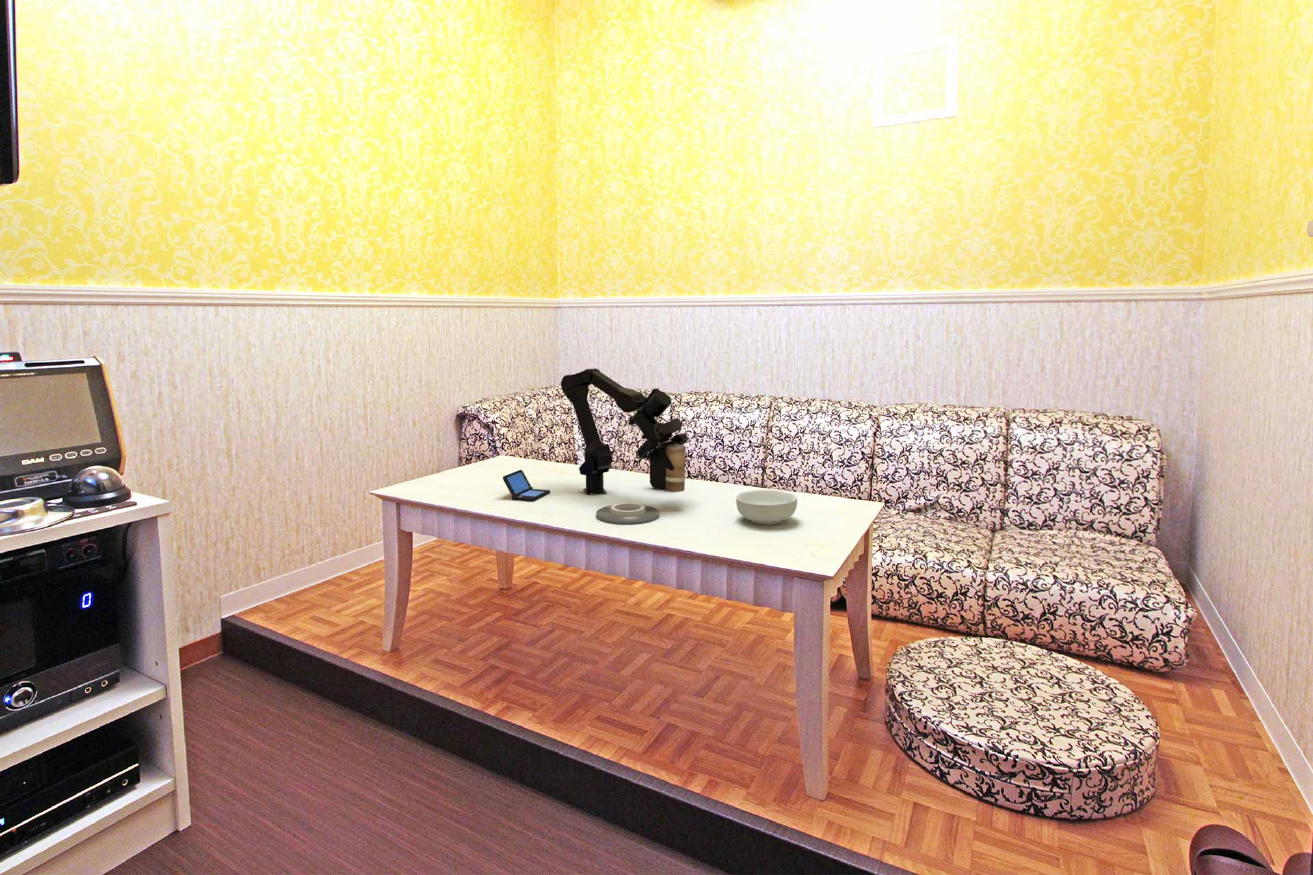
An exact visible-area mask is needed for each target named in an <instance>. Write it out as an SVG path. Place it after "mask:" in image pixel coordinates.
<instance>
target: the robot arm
mask: <svg viewBox="0 0 1313 875" xmlns="http://www.w3.org/2000/svg"><path fill="white" fill-rule="evenodd" d="M591 385H593V386H594V387H596V388H597V389H598V390H600V391H601V392H603V393H604V394H606V395H607V396H608V397H610V398H612V400H614V403H615V405H616V406H617V407H618V408H619V409H620V410H621V411H622V412H623V413H625V414H627V413H634V414H632V415H630V416H629V420H628V426H633V425H636V426H637V428H638V429H639V430H640V432H641V433H642V435H641V439H642V440H644V441H643V443H642V444H641V445H640V446H639V447H638V449H637V450H636V454H637V456H638V458H639V459H640V460H644V459H647V460H649V461H650V460H652V461H654V462H656V463H658V464H660V465H662V466H664V467H665V468H667V469H669V470H671V471H673V470H674V467H673V465H672V463H671V461H670V460H669V458H668V456H667V455H666V453H665V448H666V446H667V445H673V444H677V445H684V446H685V443H687V442H688V440H690V438H689V437H688V435H687V434H686V433H683V432H682V433H680V431H682V430H683V429H682V427H683V424H684V423H683V421H681V419H680V418H679V417H675V418H673V419H671V420H670V421H667V422H666V423H664V422H659V421H658V420H657V419H656V418H660V417H661V416H662V415H663V413H664V412H665V411H666V410H667V409H668V408H669V407H670V406H671V405H672V399H671V397H670V396H669V394H667V393H666V392H664V391H661V390H660V389H659V387H657V388H653V389H652V390H651V392H650V393H649V394H648V396H645V395H644V394H643V393H642V392H639V391H637V390H635V389H633V388H632V389H631V388H627V387H624V386H622V385H620V383H618V382H617V381H615V380H613V379H612V378H610V377H608V375H606V374H604V373H602V372H601V371H600V369H598V368H595V367H594V368H586V369H584V370H582V371H580V372H579V371H578V372H577V373H572V374H566V375H564V376H563V377H562V379H561V381H560V387H561V389H562V390H561V391H562V392H563V395H564V396H565V397H566V398H567V399H568V400H569V401H570V403H571V404H572V406H573V409H574V413H575V415H576V418H577V422H578V425H579V428H580V432H581V435H582V437H583V440H584V443H585V448H584V454H583V456H584V462H582V464H581V465H580V466H579V467H578V470H579V474H580V475H583V476H585V487H584V488H583V492H584V493H585V494H586V495H599V494H600V495H601V494H607V490H605V488H604V484H605V483H604V481H605V480H604V474H605V473H609V472H610V467H611V465H612V463H613V453H612V451H611V447H610V445H609V443H603V441H602V440H601V437H600V434H599V432H598V428H597V425H596V422H595V418H594V415H593V413H592V410H591V406H590V404H589V399H588V397H589V391H590V388H589V386H591ZM677 432H679V433H677ZM673 433H674V434H675V433H677V434H675V435H673ZM648 452H649V455H650V456H649V457H648V458H647V456H648ZM686 466H687V463H686V461H685V468H686Z"/></svg>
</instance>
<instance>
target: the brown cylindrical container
mask: <svg viewBox="0 0 1313 875" xmlns="http://www.w3.org/2000/svg"><path fill="white" fill-rule="evenodd" d="M666 455H667V456H668V458H669V460H670V461H671V463H672V465H673V467H674V470H673V471H671V470H669V469H667V468H666V490H665V491H668V492H673V493H679V492H685V486H686V484H685V483H686V482H685V481H686V475H685V474H686V467H685V462H686V446H685V444H684V445H677V444H673V445H667V446H666Z"/></svg>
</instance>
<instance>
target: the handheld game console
mask: <svg viewBox="0 0 1313 875" xmlns="http://www.w3.org/2000/svg"><path fill="white" fill-rule="evenodd" d="M502 480H503V483H504V484H505V486H506V487H507V489H508V491H509V493H510V495H511V501H518V500H521V501H520V502H529V503H531V502H532V503H533V502H536V501H537V500H539V498H540V499H541V498H544V497H545V496H547V494H548V495H549V494H550V493H551V490H550V489H540V488H539V489H538V488H537V489H536V488H534V487H533V486H532V485H531V483H530V481H529V479H528V477H527V476H526V474H525V473H524V471H523V469H519V470H516V471H513V472H511V473H509V474H506V475H502Z"/></svg>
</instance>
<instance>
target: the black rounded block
mask: <svg viewBox="0 0 1313 875" xmlns="http://www.w3.org/2000/svg"><path fill="white" fill-rule="evenodd" d="M665 453H666V448H665ZM647 454H648V455H647V458H646V459H648V457H649V456H650V455H649V452H647ZM649 484H650V486H651V487H652V488H653V489H655V490H662V489H663V490H665V491H667V490H666V468H665V467H664V466H662V465H660V464H658V463H656V462H654V461H652V460H649ZM663 490H662V491H663Z"/></svg>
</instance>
